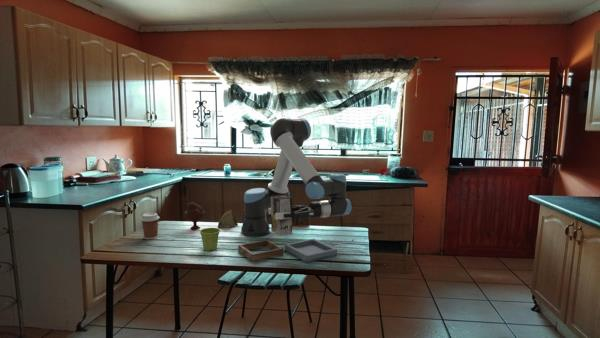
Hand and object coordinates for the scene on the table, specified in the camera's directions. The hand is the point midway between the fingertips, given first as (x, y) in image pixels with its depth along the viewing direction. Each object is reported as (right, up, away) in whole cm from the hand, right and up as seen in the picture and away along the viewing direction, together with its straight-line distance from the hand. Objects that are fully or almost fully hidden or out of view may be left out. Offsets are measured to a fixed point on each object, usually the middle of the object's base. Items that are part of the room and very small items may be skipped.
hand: (272, 213), depth 157 cm
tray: (+17, -19, +6) cm, 26 cm away
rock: (-29, -14, +50) cm, 59 cm away
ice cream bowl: (-46, -14, +44) cm, 66 cm away
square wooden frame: (-6, -19, +6) cm, 20 cm away
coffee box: (+4, -9, +3) cm, 10 cm away
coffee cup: (-64, -16, +28) cm, 72 cm away
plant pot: (-30, -18, +11) cm, 36 cm away
